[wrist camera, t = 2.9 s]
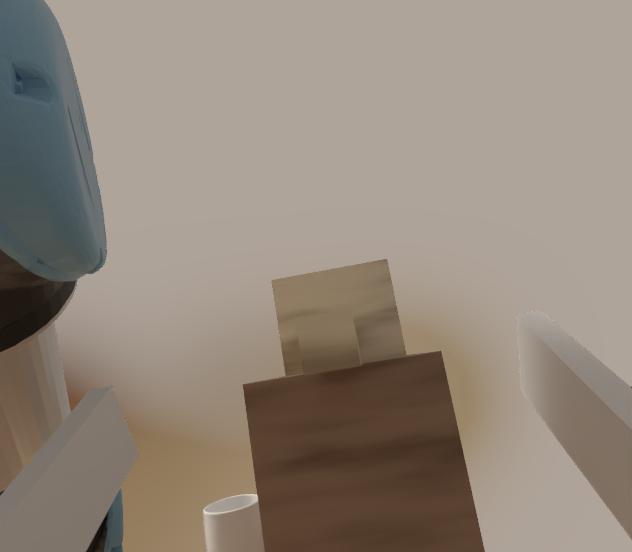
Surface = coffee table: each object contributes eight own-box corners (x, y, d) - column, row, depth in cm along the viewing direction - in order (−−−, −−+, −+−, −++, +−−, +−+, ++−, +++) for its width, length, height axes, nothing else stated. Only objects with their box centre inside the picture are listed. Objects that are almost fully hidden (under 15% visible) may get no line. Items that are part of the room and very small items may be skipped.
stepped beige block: (439, 352, 23) (403, 187, 25) (228, 388, 24) (208, 225, 26) (400, 356, 48) (383, 273, 49) (296, 374, 48) (284, 291, 50)
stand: (548, 845, 26) (441, 351, 31) (306, 867, 27) (242, 384, 32) (471, 642, 45) (412, 354, 50) (329, 660, 46) (286, 375, 51)
